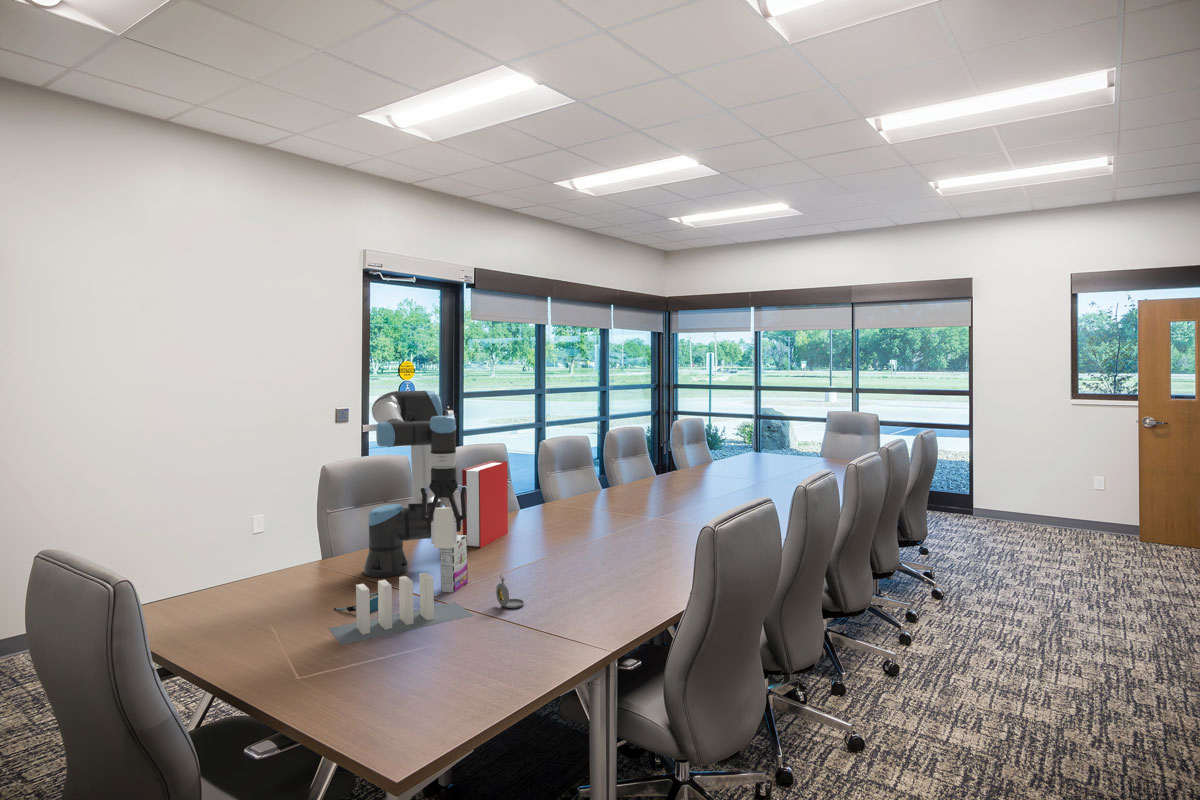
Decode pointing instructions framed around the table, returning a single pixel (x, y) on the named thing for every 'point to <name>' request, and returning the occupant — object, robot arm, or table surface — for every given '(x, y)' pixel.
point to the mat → (399, 624)
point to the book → (485, 502)
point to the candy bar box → (454, 565)
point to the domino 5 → (444, 527)
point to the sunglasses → (372, 604)
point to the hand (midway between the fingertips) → (444, 542)
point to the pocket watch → (506, 596)
